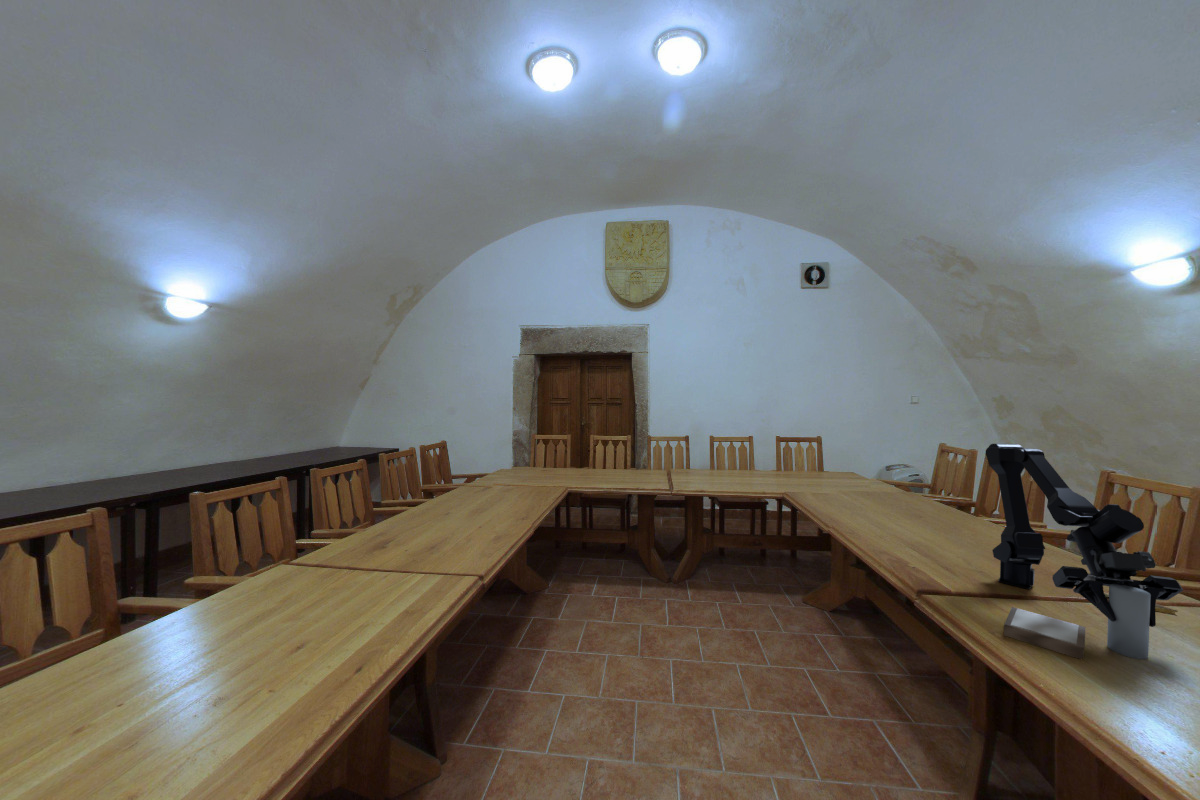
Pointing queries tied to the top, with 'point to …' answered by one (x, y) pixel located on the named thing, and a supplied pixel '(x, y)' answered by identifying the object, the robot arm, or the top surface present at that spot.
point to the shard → (1157, 606)
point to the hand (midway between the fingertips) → (1133, 623)
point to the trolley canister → (1129, 621)
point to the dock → (1046, 632)
